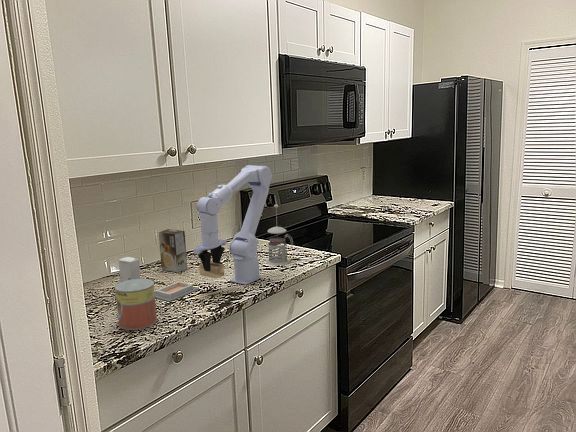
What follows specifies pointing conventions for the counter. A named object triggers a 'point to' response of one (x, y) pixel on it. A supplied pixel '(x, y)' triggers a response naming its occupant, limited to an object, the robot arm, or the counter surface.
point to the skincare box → (129, 268)
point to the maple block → (213, 270)
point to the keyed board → (174, 291)
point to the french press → (280, 258)
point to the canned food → (136, 303)
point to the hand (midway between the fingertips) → (211, 269)
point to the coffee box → (173, 250)
